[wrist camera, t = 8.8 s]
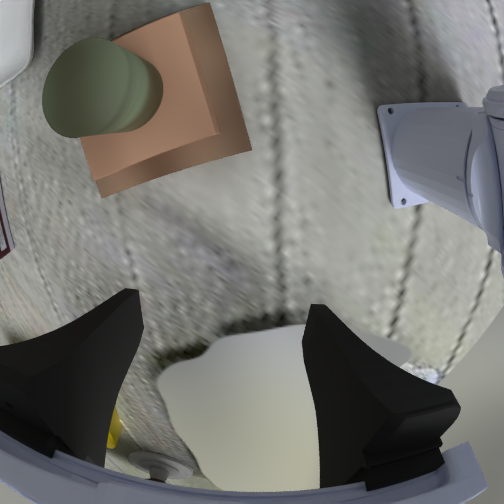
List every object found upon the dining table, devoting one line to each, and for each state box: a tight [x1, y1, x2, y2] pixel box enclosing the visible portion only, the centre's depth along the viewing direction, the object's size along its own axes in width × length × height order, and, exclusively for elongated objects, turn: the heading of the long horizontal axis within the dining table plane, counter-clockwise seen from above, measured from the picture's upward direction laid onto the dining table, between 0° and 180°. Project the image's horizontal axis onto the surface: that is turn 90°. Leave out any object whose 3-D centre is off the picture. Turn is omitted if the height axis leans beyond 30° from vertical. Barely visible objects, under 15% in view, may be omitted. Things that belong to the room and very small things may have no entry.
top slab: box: [80, 13, 220, 181], centre depth 14 cm, size 8×8×2 cm
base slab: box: [96, 3, 252, 198], centre depth 16 cm, size 11×11×2 cm
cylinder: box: [42, 38, 163, 138], centre depth 11 cm, size 4×4×5 cm
